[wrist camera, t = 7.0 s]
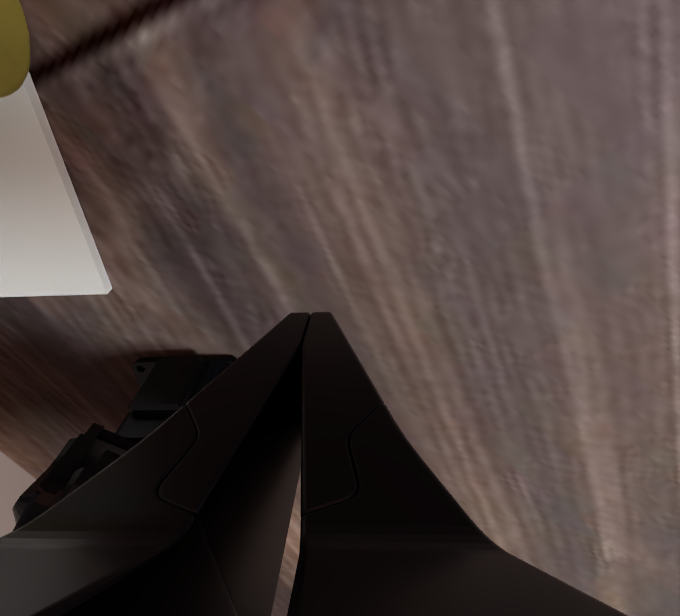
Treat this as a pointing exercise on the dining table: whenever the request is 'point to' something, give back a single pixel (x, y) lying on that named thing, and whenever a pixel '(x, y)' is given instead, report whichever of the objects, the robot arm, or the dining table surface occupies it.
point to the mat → (40, 209)
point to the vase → (13, 47)
